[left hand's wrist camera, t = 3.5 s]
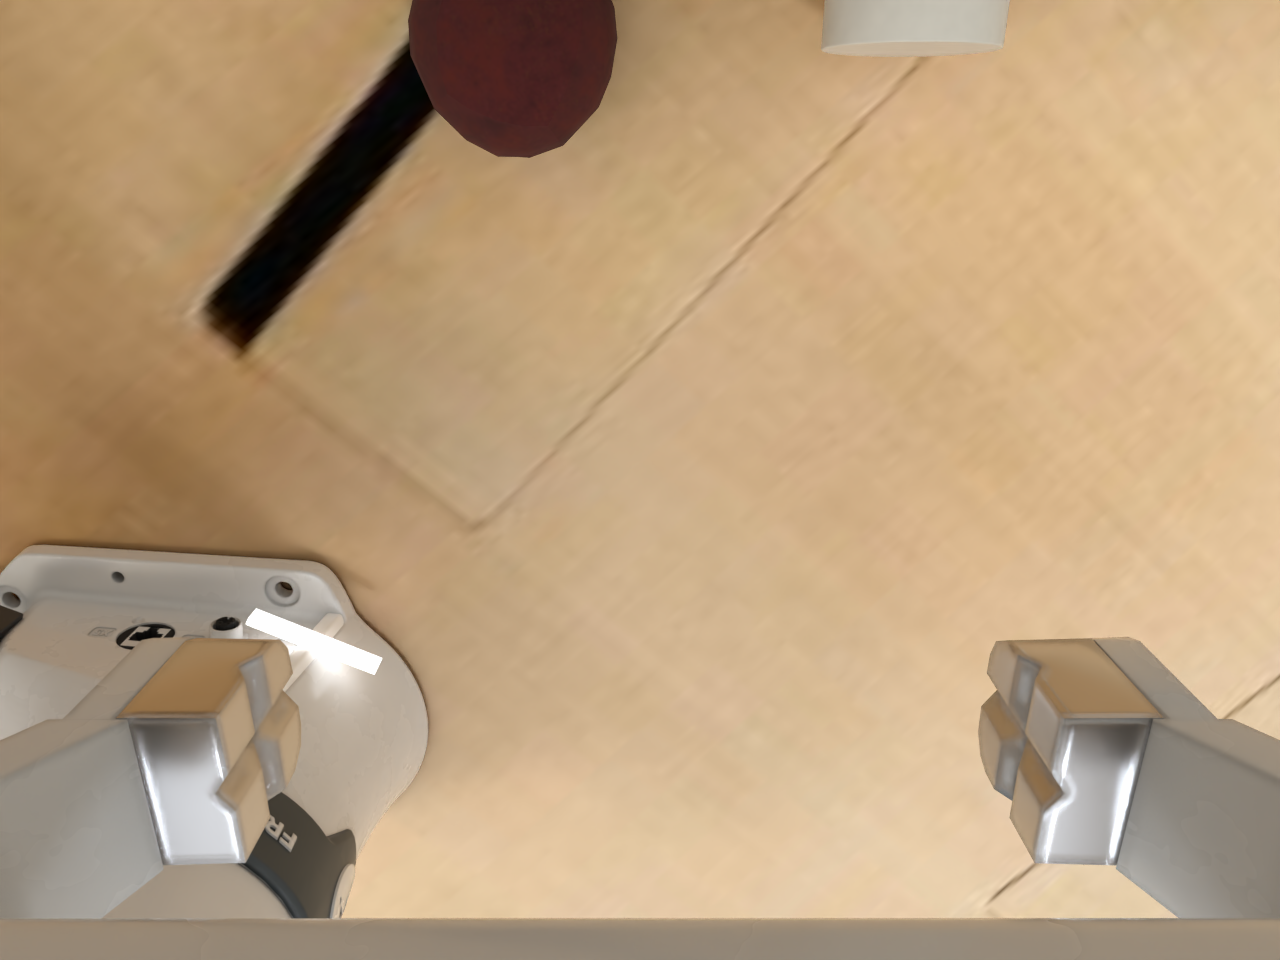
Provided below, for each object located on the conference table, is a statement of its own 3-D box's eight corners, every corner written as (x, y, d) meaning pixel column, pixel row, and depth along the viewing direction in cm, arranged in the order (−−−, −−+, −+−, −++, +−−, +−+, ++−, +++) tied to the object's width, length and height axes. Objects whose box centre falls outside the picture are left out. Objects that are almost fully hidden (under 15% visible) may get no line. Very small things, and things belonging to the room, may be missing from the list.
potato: (638, -30, 34) (637, -69, 28) (593, 176, 37) (583, 185, 31) (448, -84, 34) (402, -136, 27) (417, 130, 36) (368, 130, 30)
